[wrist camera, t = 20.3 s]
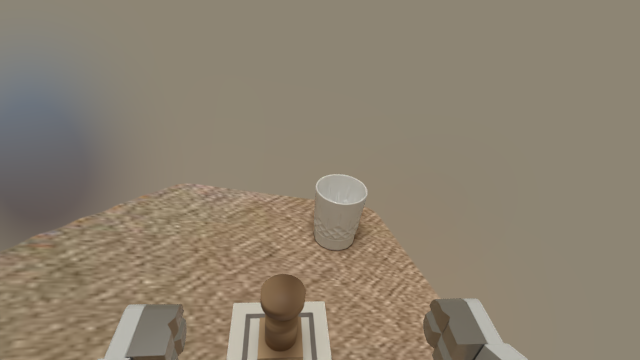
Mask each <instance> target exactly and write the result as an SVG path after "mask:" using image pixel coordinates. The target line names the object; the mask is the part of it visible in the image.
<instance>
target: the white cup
mask: <svg viewBox="0 0 640 360" xmlns="http://www.w3.org/2000/svg"><path fill="white" fill-rule="evenodd" d="M366 197H367V188H366V187H365V186H364V184H363V183H362V182H361V181H359V180H357V179H356V178H353V177H351V176H347V175H342V174H332V175H327V176H324V177H322V178H321V179H319V181H318V182H317V184H316V194H315V209H314V236H315V240H316V241H317V242H318V243H319V244H320V245H321V246H322V247H324V248H327V249H329V250H342V249H346V248H348V247H349V246H350V245H351V244H352V243H353V239H354V236H355V233H356V230H357V228H358V225H359V222H360V218H361V215H362V211H363V208H364V204H365V200H366Z"/></svg>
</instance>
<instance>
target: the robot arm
mask: <svg viewBox="0 0 640 360" xmlns="http://www.w3.org/2000/svg"><path fill="white" fill-rule="evenodd" d="M430 308H431V311H430V312H428V313H427V314H426V315H425V318H424V322H423V329H424V334H425V337H426V340H427V342H428V343H429V344H430V345H431V346H432V347H433V348H434V351H433V354H432V356H433V359H434V360H528V359H527V358H525V357H524V356H523V355H522V354H520V353H519V352H518V351H517V350H515V349H514V348H513V347H512V346H510V345H509V344H504V343H503V341H502V339H501V337H500V336H499V334H498V332H497V330H496V329H495V327H494V325H493V323H492V322H491V320H490V318H489V316H488V314H487V313H486V311H485V309H484V307H483V306H482V304H481V302H480V301H479V300H478V299H461V298H459V299H434V300H433V301H432V302H431V304H430ZM183 312H184V310H183V306H182V304H158V305H148V304H139V305H128V306H127V308H126V309H125V310H124V313H123V315H122V317H121V320H120V322H119V324H118V327H117V329H116V331H115V334H114V336H113V338H112V341H111V343H110V345H109V348H108V350H107V352H106V355H105V357H104V359H98V360H178V356H179V355H180V354H181V353H182V352H183V349H184V345H185V339H186V320H185V319H184V318H182V315H183Z"/></svg>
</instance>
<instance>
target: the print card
mask: <svg viewBox="0 0 640 360" xmlns="http://www.w3.org/2000/svg"><path fill="white" fill-rule="evenodd" d="M264 317H265V313H264V312H263V310H262V308H261V303H234V305H233V313H232V321H231V329H230V337H229V344H228V352H227V360H257V356H258V339H259V322H260V318H264ZM298 317H301V324H302V343H303V360H332V359H331V351H330V343H329V335H328V327H327V319H326V310H325V302H305V303H304V307H303V310H302V311H301V313H300V314H299V315H298Z"/></svg>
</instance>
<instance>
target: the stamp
mask: <svg viewBox="0 0 640 360" xmlns="http://www.w3.org/2000/svg"><path fill="white" fill-rule="evenodd" d="M305 295H306V291H305V287H304V285H303V283H302V282H301V281H300V280H299V279H298V278H296V277H294V276H292V275H287V274H280V275H275V276H273V277H271V278H269V279H268V280H266V281H265V283H264V284H263V286H262V288H261V308H262V310H263V312H264V313H265V317H264V318H260V322H259V339H258V356H257V360H303V343H302V324H301V317H298V315H299V314H300V313H301V311H302V310H303V307H304V303H305Z"/></svg>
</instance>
